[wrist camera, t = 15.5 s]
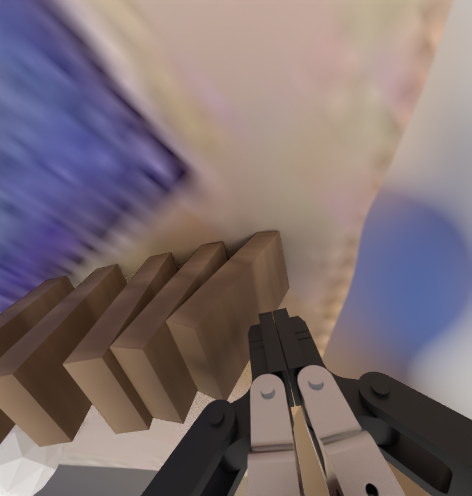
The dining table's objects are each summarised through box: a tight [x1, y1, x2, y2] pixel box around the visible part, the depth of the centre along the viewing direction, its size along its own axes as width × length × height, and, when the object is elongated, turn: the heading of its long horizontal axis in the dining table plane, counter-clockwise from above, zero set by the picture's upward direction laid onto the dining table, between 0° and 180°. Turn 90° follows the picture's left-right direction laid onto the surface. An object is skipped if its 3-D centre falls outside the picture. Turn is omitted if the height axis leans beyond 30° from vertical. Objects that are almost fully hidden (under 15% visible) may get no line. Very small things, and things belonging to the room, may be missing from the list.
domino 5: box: [166, 232, 289, 401], centre depth 15 cm, size 2×5×10 cm, turn 13°
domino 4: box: [109, 243, 228, 424], centre depth 15 cm, size 2×5×10 cm, turn 13°
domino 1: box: [0, 276, 74, 444], centre depth 16 cm, size 2×5×10 cm, turn 13°
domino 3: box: [62, 253, 178, 434], centre depth 15 cm, size 2×5×10 cm, turn 14°
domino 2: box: [0, 264, 127, 447], centre depth 15 cm, size 2×5×10 cm, turn 13°
